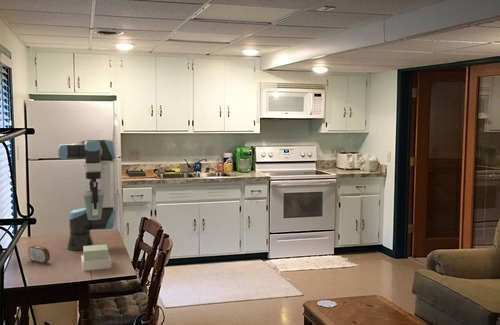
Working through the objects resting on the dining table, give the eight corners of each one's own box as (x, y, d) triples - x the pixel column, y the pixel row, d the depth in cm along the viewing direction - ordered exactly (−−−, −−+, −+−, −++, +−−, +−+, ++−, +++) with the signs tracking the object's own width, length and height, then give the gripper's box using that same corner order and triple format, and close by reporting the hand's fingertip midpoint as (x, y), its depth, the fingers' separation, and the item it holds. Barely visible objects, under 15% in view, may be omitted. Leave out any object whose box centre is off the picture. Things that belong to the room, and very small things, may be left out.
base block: (81, 264, 274) (81, 255, 274) (108, 261, 279) (108, 252, 279) (83, 271, 261) (82, 261, 261) (111, 268, 266) (111, 259, 266)
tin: (50, 263, 276) (50, 247, 275) (45, 264, 273) (45, 248, 272) (32, 259, 283) (31, 244, 283) (27, 260, 281) (26, 245, 280)
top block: (83, 255, 274) (83, 246, 273) (106, 253, 277) (106, 244, 277) (83, 261, 262) (83, 251, 262) (108, 259, 266) (108, 249, 266)
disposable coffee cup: (84, 221, 261) (83, 192, 260) (83, 217, 271) (82, 189, 270) (106, 220, 265) (105, 191, 264) (103, 216, 275) (103, 188, 274)
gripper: (84, 169, 275) (85, 210, 277) (87, 173, 254) (88, 217, 256) (98, 168, 278) (99, 209, 280) (103, 173, 257) (104, 216, 258)
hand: (94, 213), depth 268 cm, fingers closed on disposable coffee cup, 11 cm apart
